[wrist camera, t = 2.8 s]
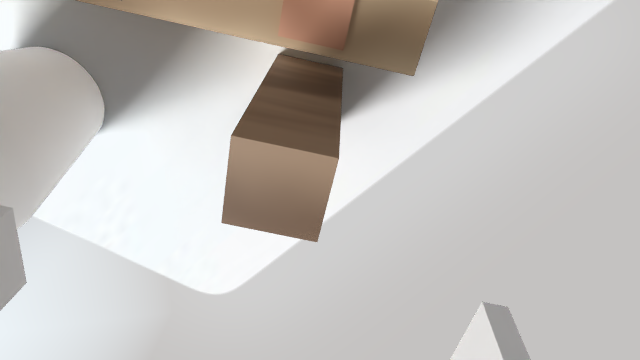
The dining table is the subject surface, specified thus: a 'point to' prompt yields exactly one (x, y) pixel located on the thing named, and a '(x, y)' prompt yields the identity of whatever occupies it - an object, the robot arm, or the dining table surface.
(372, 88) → the dining table surface
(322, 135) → the plug
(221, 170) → the dining table surface
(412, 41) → the box
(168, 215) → the dining table surface
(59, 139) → the cup
